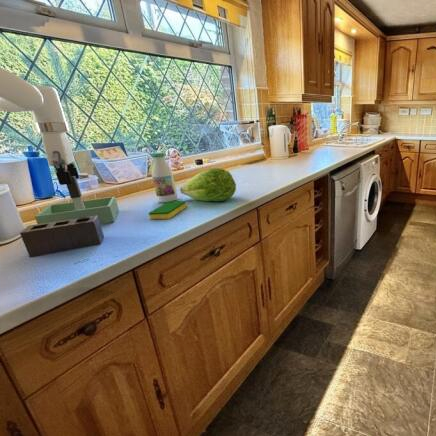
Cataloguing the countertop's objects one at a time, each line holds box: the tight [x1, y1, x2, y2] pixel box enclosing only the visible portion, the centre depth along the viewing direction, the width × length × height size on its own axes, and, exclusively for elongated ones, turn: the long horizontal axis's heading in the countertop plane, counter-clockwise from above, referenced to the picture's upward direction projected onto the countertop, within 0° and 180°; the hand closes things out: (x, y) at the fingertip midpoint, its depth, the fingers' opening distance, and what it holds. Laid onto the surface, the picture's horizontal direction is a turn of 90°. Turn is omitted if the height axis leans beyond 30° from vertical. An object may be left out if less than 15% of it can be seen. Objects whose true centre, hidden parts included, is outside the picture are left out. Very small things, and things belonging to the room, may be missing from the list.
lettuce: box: [179, 167, 237, 202], centre depth 124 cm, size 15×24×14 cm, turn 73°
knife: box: [65, 176, 85, 210], centre depth 103 cm, size 3×2×15 cm
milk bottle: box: [151, 151, 179, 203], centre depth 125 cm, size 8×8×20 cm
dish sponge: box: [148, 200, 187, 220], centre depth 111 cm, size 7×14×2 cm, turn 0°
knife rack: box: [19, 215, 105, 258], centre depth 84 cm, size 16×6×7 cm, turn 118°
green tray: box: [34, 196, 120, 225], centre depth 105 cm, size 20×15×6 cm
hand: (70, 181), depth 101 cm, fingers open, 9 cm apart
